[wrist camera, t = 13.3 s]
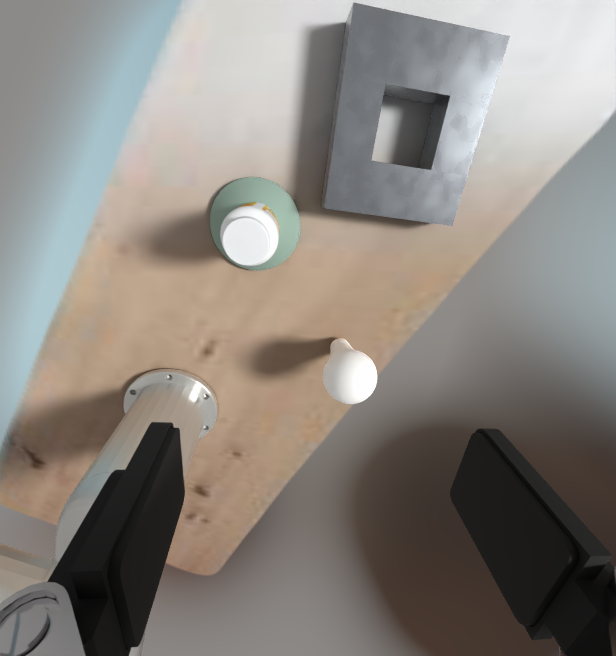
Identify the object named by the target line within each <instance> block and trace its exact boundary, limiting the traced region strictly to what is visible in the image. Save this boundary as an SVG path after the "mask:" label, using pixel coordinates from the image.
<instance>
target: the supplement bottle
mask: <svg viewBox="0 0 616 656" xmlns="http://www.w3.org/2000/svg"><path fill="white" fill-rule="evenodd" d="M279 233H280V226H279V221H278V218H277V216H276V214H275V213H274V212H273V210H272V209H271V208H269V207H268V206H267V205H265V204H262V203H259V202H249V203H245V204H243V205H241V206H240V207H238V208H236V209H234V210H233V211H231V212H230V213H229V214H228V215H227V216H226V217H225V219H224V221H223V223H222V225H221V230H220V238H221V243H222V246H223V248H224V250H225V252H226V254H227V255H228V257H229V258H230V259H232V260H233V261H234V262H236V263H238V264H241V265H246V266H256V265H260V264H262V263H265V262H266V261H268V260H269V259H270V258H271V257H272V256H273V254H274V253H275V251H276V248H277V246H278V241H279Z"/></svg>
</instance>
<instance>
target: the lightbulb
mask: <svg viewBox="0 0 616 656" xmlns="http://www.w3.org/2000/svg"><path fill="white" fill-rule="evenodd" d="M330 350H331V352H330V358H329V359H328V361H327V362H326V364H325V366H324V370H323V383H324V386H325V388H326V390H327V392H328V393H329V394H330V395H331V396H332V397H333V398H334V399H335V400H337V401H339V402H342V403H346V404H355V403H359V402H361V401H364V400H365V399H367V398H368V397H369V396H370V395H371V393H372V392H373V391H374V389H375V387H376V383H377V371H376V367H375V365H374V363H373V361H372V360H371V359H370V358H369V357H368V356H367V355H366V354H364V353H362V352H360V351H357V350H354V349H353V348H352V347H351V346H350V345H349V343H348V342H347V341H346V340H345V339H343V338H338V339H335V340H334V341H333V342H332V343H331V346H330Z"/></svg>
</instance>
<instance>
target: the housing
mask: <svg viewBox="0 0 616 656" xmlns="http://www.w3.org/2000/svg"><path fill="white" fill-rule="evenodd" d="M509 37H510V36H506V35H502V34H497V33H492V32H488V31H483V30H478V29H474V28H469V27H465V26H460V25H455V24H451V23H446V22H441V21H437V20H432V19H427V18H423V17H418V16H413V15H409V14H404V13H399V12H395V11H390V10H386V9H381V8H376V7H372V6H367V5H362V4H358V3H353V6H352V8H351V11H350V13H349V16H348V18H347V21H346V26H345V33H344V40H343V48H342V55H341V62H340V69H339V77H338V84H337V91H336V98H335V105H334V113H333V120H332V127H331V134H330V142H329V149H328V156H327V163H326V171H325V178H324V185H323V192H322V200H321V207H323V208H324V209H332V210H339V211H347V212H354V213H361V214H369V215H376V216H383V217H391V218H398V219H405V220H413V221H420V222H428V223H435V224H442V225H450V226H452V225H453V222H454V219H455V215H456V212H457V209H458V205H459V202H460V199H461V196H462V192H463V189H464V186H465V182H466V179H467V176H468V172H469V169H470V166H471V162H472V159H473V156H474V153H475V149H476V146H477V143H478V139H479V136H480V133H481V129H482V126H483V123H484V119H485V116H486V113H487V110H488V106H489V103H490V100H491V96H492V93H493V90H494V86H495V83H496V80H497V76H498V73H499V70H500V67H501V63H502V60H503V57H504V53H505V50H506V47H507V43H508V40H509ZM383 95H388V96H393V97H399V98H404V99H410V100H415V101H421V102H426V103H432V104H434V107H433V111H432V115H431V119H430V123H429V127H428V131H427V135H426V139H425V143H424V148H423V152H422V156H421V160H420V164H419V168H414V167H408V166H401V165H395V164H389V163H382V162H376V161H371V159H372V154H373V148H374V143H375V138H376V132H377V127H378V122H379V116H380V111H381V106H382V100H383Z"/></svg>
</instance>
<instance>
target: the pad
mask: <svg viewBox="0 0 616 656" xmlns="http://www.w3.org/2000/svg"><path fill="white" fill-rule="evenodd" d="M249 202H259V203H262V204H265V205H267V206H268V207H269V208H271V209H272V210H273V212H274V213H275V214H276V216H277V218H278V221H279V226H280V233H279V241H278V246H277V248H276V251H275V253H274V254H273V256H272V257H271V258H270V259H269V260H268V261H266V262H265V263H262V264H260V265H256V266H246V265H241V264H238V263H236V262H234V261H233V260H232V259H230V258H229V257H228V255H227V254H226V252H225V250H224V248H223V246H222V243H221V238H220V230H221V225H222V223H223V221H224V219H225V217H226V216H227V215H228V214H229V213H230V212H231V211H233V210H234V209H236V208H238V207H240V206H241V205H243V204H245V203H249ZM210 229H211V234H212V237H213V240H214V242H215V244H216V246H217V247H218V249H219V250H220V252H221V253H222V254H223V255H224V256H225V257H226V258H227V259H228V260H229V261H231V262H232V263H234V264H235V265H237V266H239V267H242V268H245V269H249V270H266V269H270V268H273V267H276V266H278V265H279V264H281V263H282V262H284V261H285V260H286V259H287V258H288V257H289V256H290V255H291V254H292V252H293V251H294V249H295V247H296V245H297V242H298V239H299V235H300V218H299V213H298V210H297V208H296V206H295V203H294V201H293V200H292V198H291V197H290V196H289V194H288V193H287V192H286V191H285V190H284V189H283V188H282V187H280V186H279V185H277V184H276V183H274V182H272V181H270V180H267V179H264V178H259V177H246V178H241V179H238V180H235V181H233V182H232V183H230V184H228V185H227V186H226V187H224V188H223V189H222V190H221V191H220V193H219V194H218V195H217V197H216V199H215V201H214V203H213V205H212V208H211V213H210Z"/></svg>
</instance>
